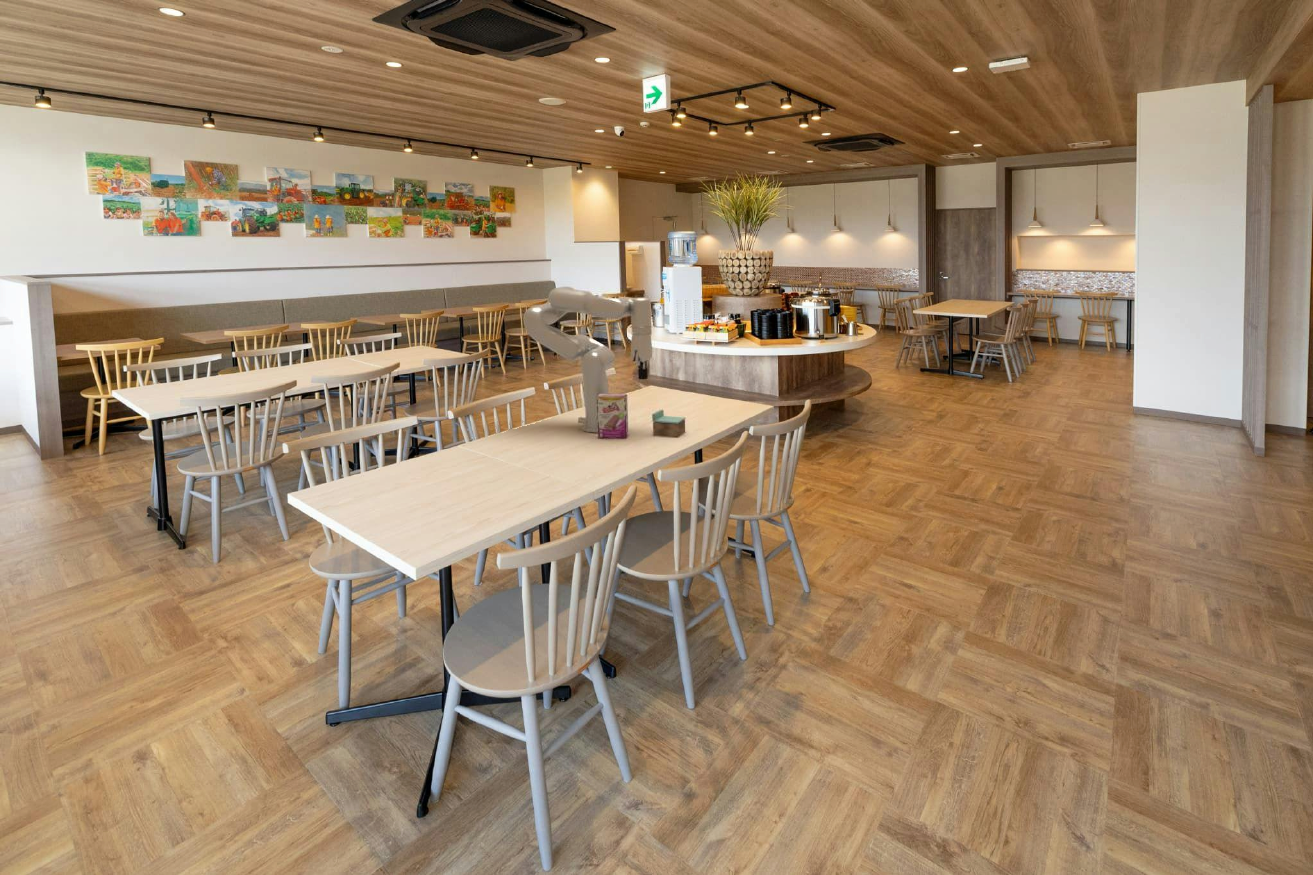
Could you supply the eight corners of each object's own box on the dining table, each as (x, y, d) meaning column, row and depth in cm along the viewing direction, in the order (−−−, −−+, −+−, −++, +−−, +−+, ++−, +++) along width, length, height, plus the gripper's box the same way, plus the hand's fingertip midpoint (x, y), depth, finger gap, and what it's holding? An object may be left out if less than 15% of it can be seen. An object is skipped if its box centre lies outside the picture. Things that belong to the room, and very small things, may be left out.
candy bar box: (598, 438, 278) (596, 396, 274) (600, 435, 283) (598, 393, 279) (627, 438, 277) (625, 396, 273) (628, 435, 282) (627, 393, 278)
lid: (652, 421, 280) (652, 414, 279) (660, 417, 287) (660, 409, 286) (677, 423, 275) (677, 416, 275) (685, 419, 283) (685, 411, 282)
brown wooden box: (653, 435, 281) (652, 422, 280) (661, 430, 288) (661, 417, 287) (677, 437, 277) (677, 424, 276) (685, 432, 284) (685, 419, 283)
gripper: (640, 328, 285) (642, 375, 289) (623, 333, 271) (625, 381, 276) (658, 328, 282) (659, 376, 286) (642, 333, 268) (643, 382, 273)
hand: (643, 378), depth 281 cm, fingers closed
